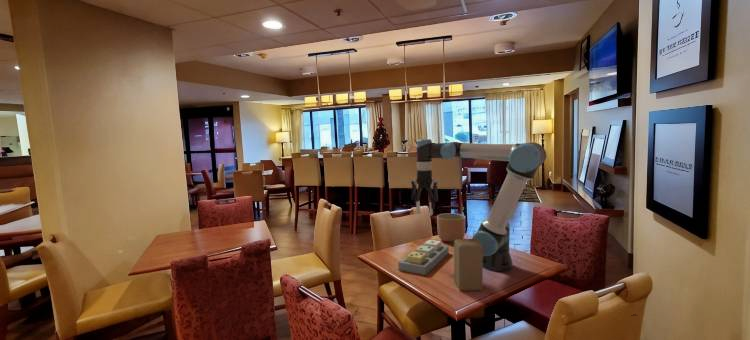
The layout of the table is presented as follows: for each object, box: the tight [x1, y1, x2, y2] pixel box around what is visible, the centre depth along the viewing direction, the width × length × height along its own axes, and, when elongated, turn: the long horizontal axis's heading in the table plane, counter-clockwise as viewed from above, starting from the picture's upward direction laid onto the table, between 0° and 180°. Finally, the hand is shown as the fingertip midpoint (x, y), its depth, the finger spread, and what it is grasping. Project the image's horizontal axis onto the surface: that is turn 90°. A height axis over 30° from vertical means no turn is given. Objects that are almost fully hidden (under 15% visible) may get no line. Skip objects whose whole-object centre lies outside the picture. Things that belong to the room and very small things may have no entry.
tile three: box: [406, 251, 426, 265], centre depth 178 cm, size 7×7×4 cm
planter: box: [436, 212, 467, 244], centre depth 221 cm, size 17×17×15 cm
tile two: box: [415, 244, 434, 257], centre depth 187 cm, size 7×7×4 cm
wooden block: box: [453, 238, 484, 292], centre depth 156 cm, size 10×10×20 cm
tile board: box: [398, 243, 449, 276], centre depth 188 cm, size 14×34×4 cm, turn 150°
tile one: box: [423, 239, 442, 251], centre depth 197 cm, size 7×7×4 cm
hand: (424, 214), depth 185 cm, fingers open, 6 cm apart
